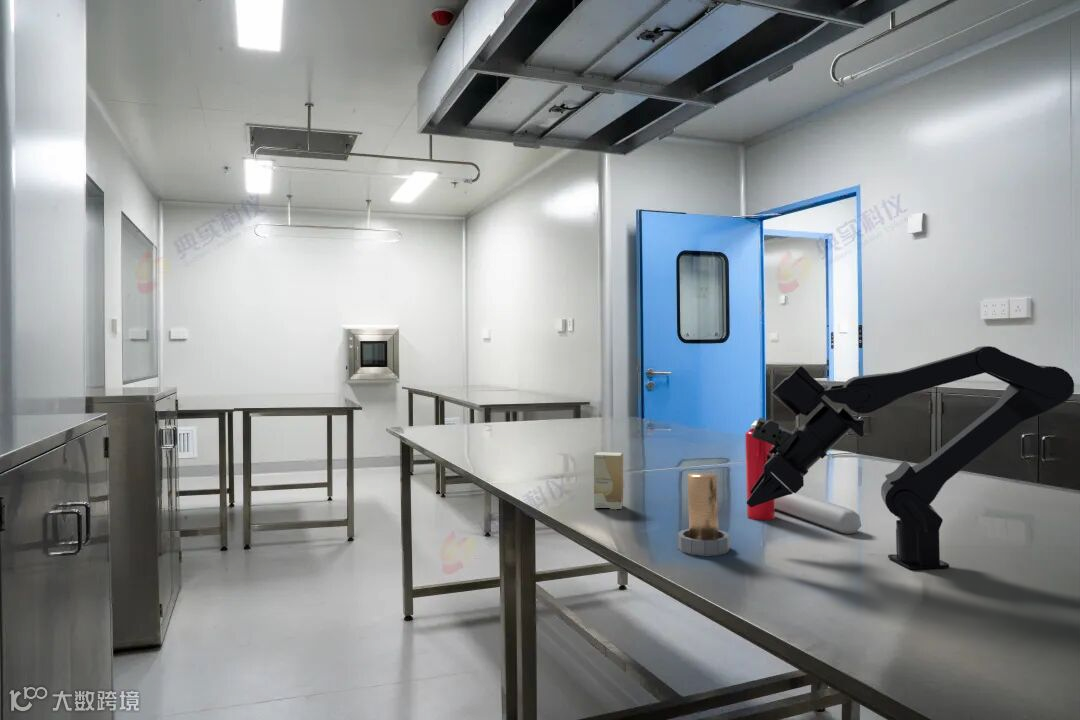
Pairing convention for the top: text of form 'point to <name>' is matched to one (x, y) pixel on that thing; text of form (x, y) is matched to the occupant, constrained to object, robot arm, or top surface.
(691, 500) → the copper stub
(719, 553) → the collar
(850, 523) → the tube
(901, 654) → the top surface
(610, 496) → the skincare box
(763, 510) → the bottle
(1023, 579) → the top surface
